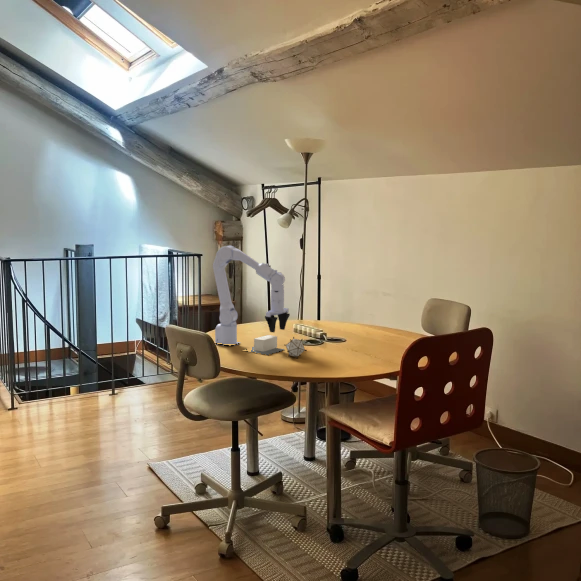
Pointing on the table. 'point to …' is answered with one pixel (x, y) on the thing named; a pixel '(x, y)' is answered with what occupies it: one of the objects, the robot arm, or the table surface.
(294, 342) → the game die
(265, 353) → the slate mat
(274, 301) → the robot arm
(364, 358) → the table surface
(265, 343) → the tall block
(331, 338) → the table surface
